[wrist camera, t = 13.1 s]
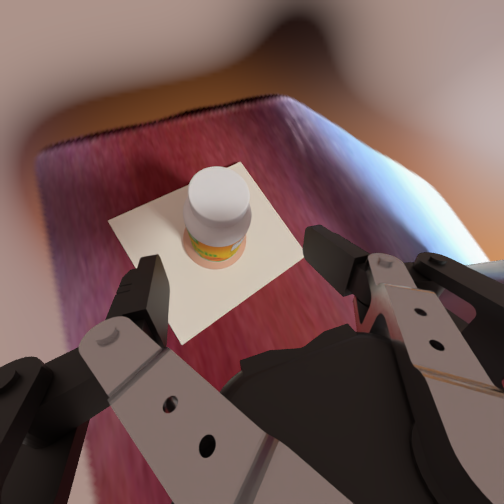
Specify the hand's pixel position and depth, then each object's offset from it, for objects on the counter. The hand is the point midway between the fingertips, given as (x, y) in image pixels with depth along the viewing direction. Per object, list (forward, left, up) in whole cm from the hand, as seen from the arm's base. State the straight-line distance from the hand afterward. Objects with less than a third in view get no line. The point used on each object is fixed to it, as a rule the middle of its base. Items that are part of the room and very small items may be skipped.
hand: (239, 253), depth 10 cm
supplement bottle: (-1, -4, -11) cm, 12 cm away
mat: (-1, -4, -12) cm, 13 cm away
